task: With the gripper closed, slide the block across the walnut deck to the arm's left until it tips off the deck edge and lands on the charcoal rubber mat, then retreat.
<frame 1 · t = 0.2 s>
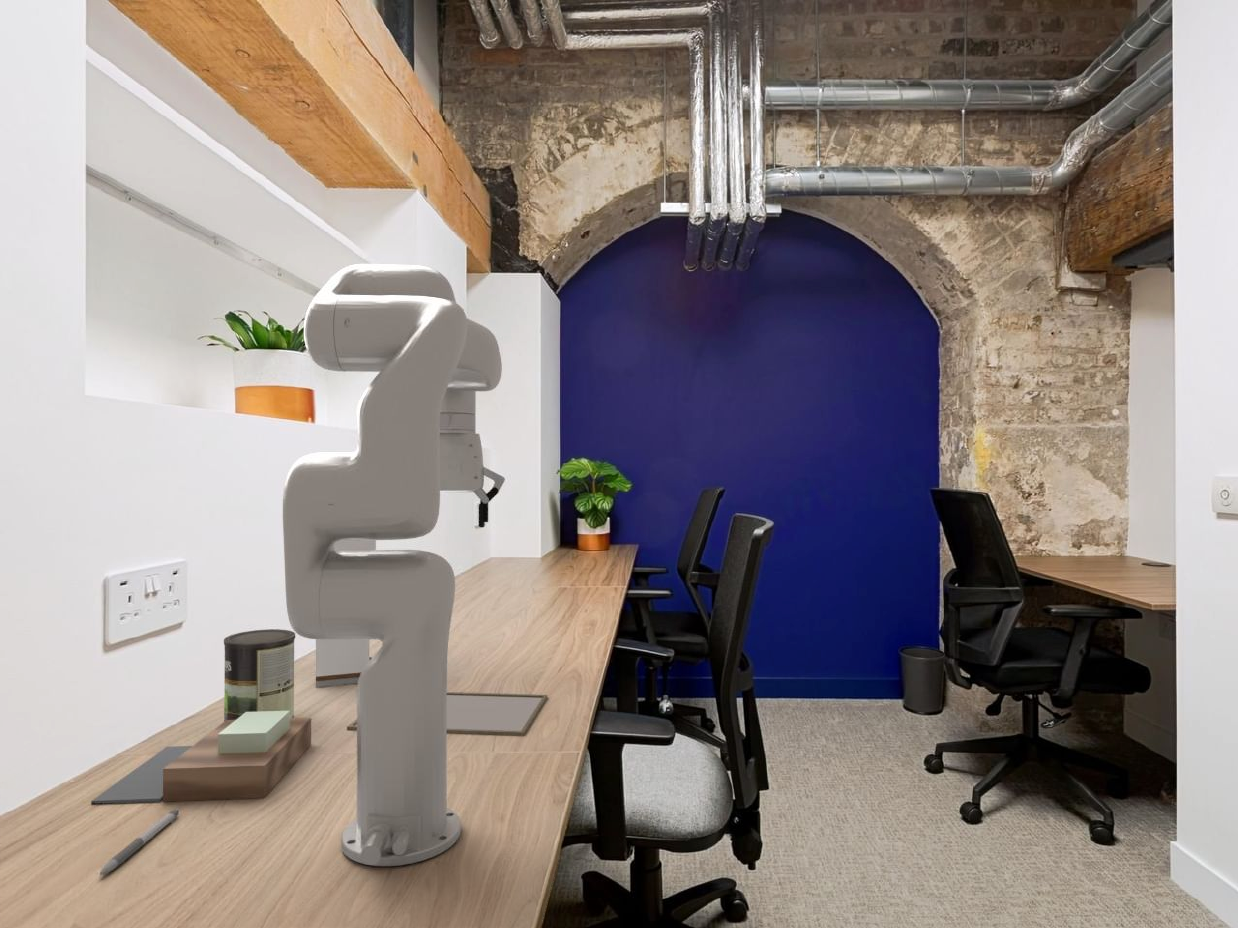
hand: (452, 526, 128), 31 cm above the table, tool pointing down, fingers open, 9 cm apart
picture frame: (453, 716, 126), on the table
mat: (163, 773, 101), on the table
deck: (243, 770, 102), on the table
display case: (345, 677, 148), on the table
coffee can: (259, 725, 120), on the table
block: (255, 740, 102), point 4 cm above the table, touching deck
pen: (142, 849, 82), on the table
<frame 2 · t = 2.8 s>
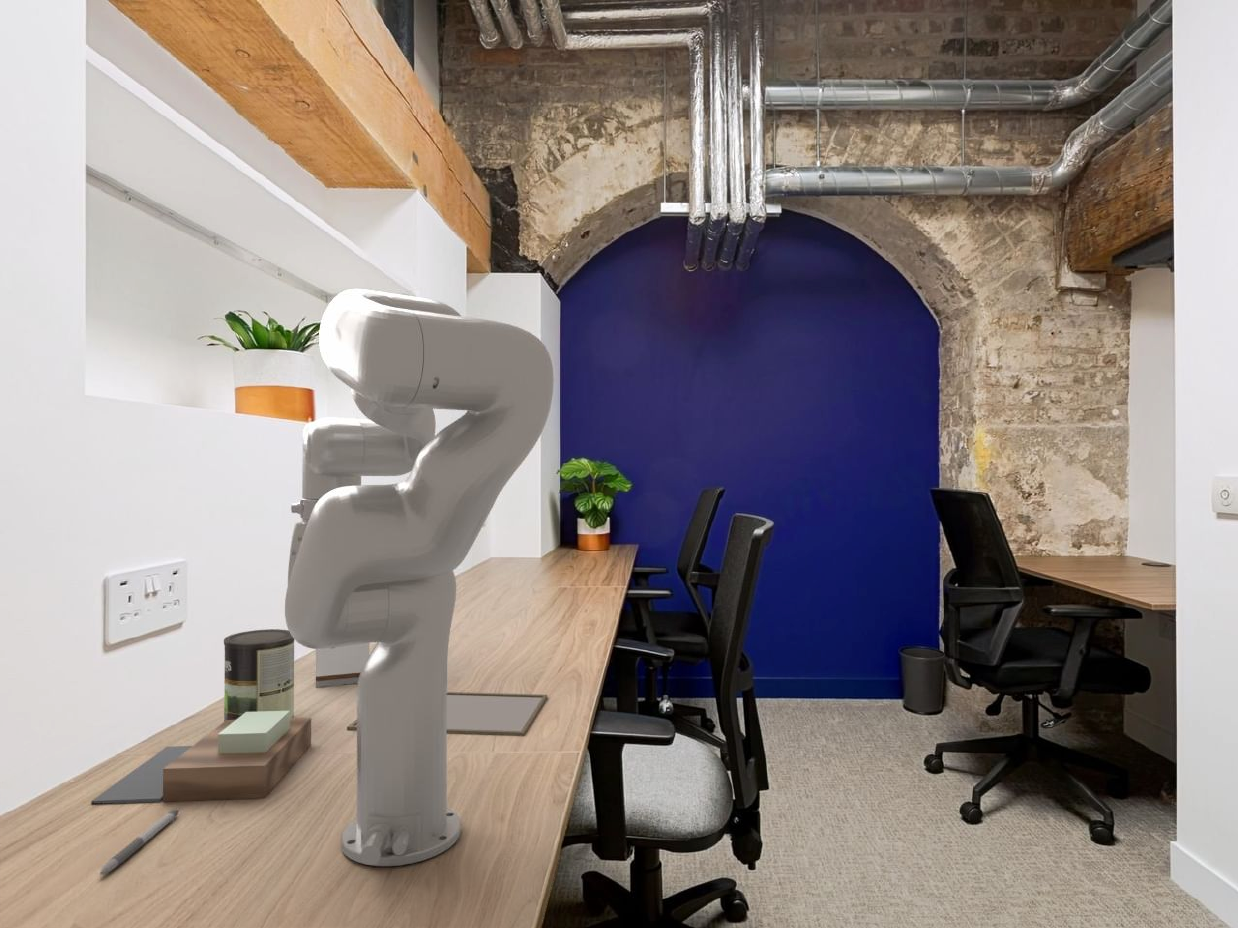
hand: (330, 645, 103), 16 cm above the table, tool pointing down, fingers closed
nothing on the table moved.
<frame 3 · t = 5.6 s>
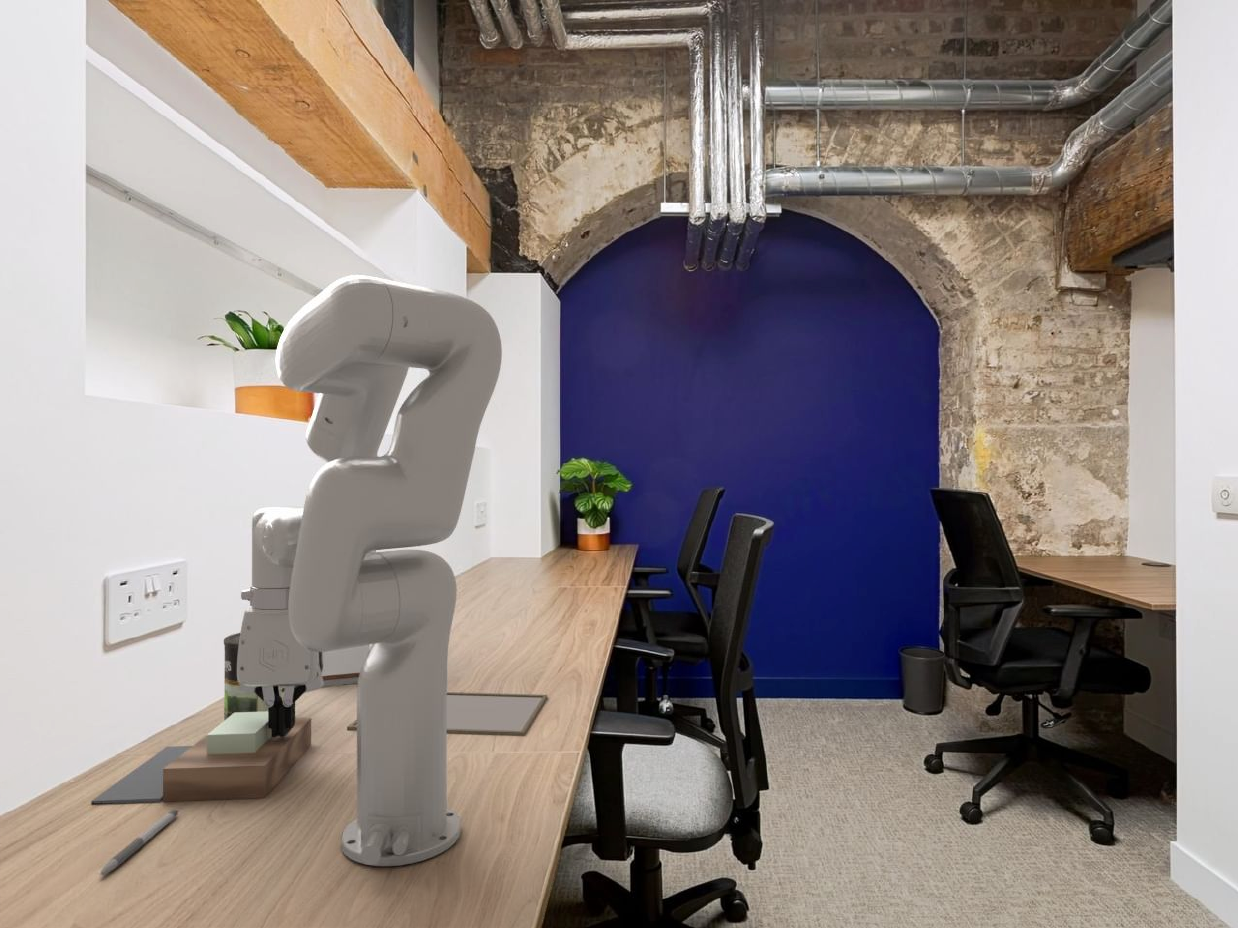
hand: (281, 733, 102), 5 cm above the table, tool pointing down, fingers closed
block: (244, 740, 102), point 4 cm above the table, touching deck, gripper
everything else where it was.
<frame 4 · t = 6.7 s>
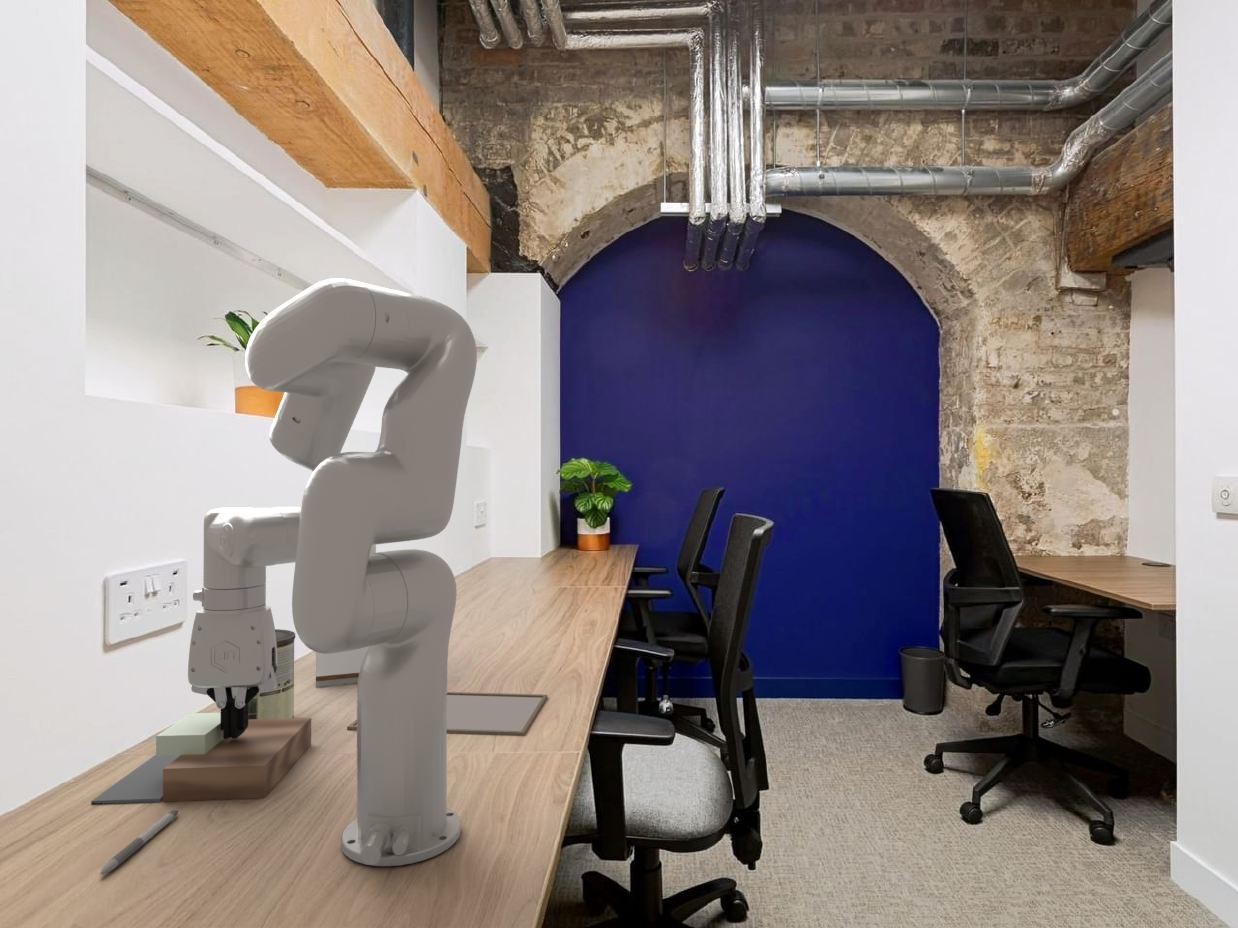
hand: (234, 734, 102), 5 cm above the table, tool pointing down, fingers closed
block: (197, 742, 101), point 4 cm above the table, touching gripper
everything else where it was.
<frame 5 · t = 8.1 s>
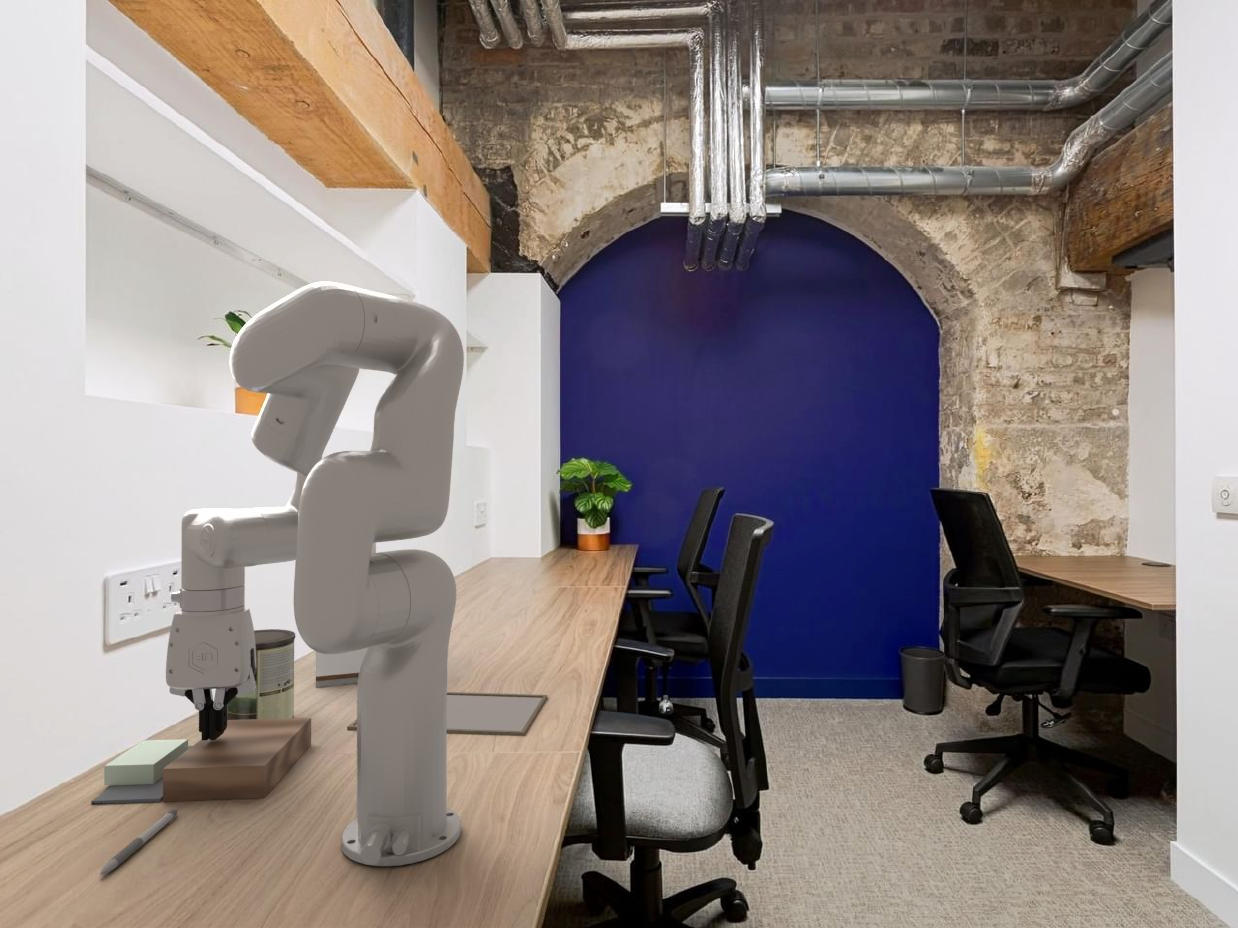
hand: (213, 736, 102), 5 cm above the table, tool pointing down, fingers closed
block: (148, 751, 101), point 3 cm above the table, tilted 180°, touching mat
everything else where it was.
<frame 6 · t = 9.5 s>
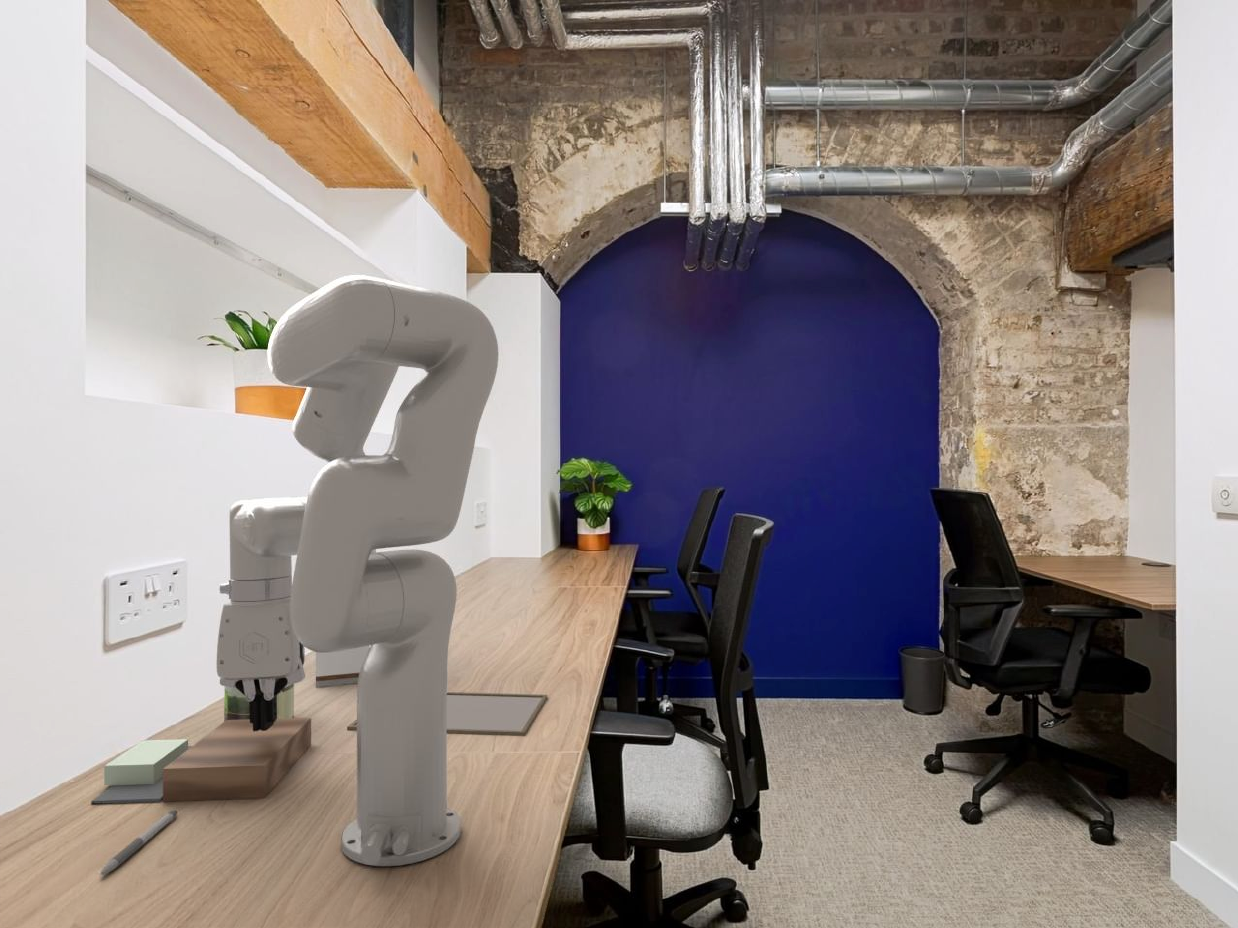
hand: (263, 727, 102), 6 cm above the table, tool pointing down, fingers closed
nothing on the table moved.
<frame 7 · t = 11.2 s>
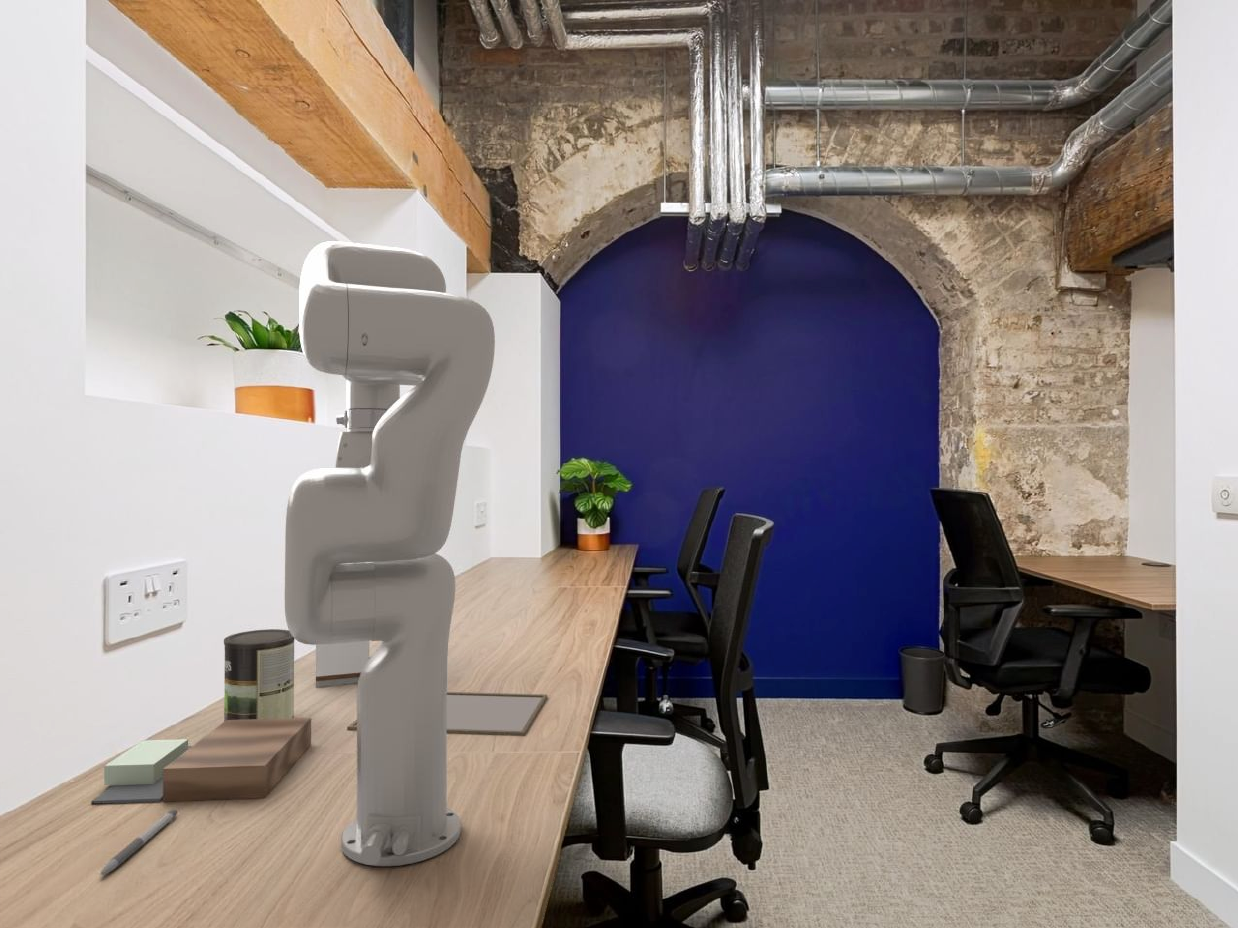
hand: (373, 546, 112), 29 cm above the table, tool pointing down, fingers closed
nothing on the table moved.
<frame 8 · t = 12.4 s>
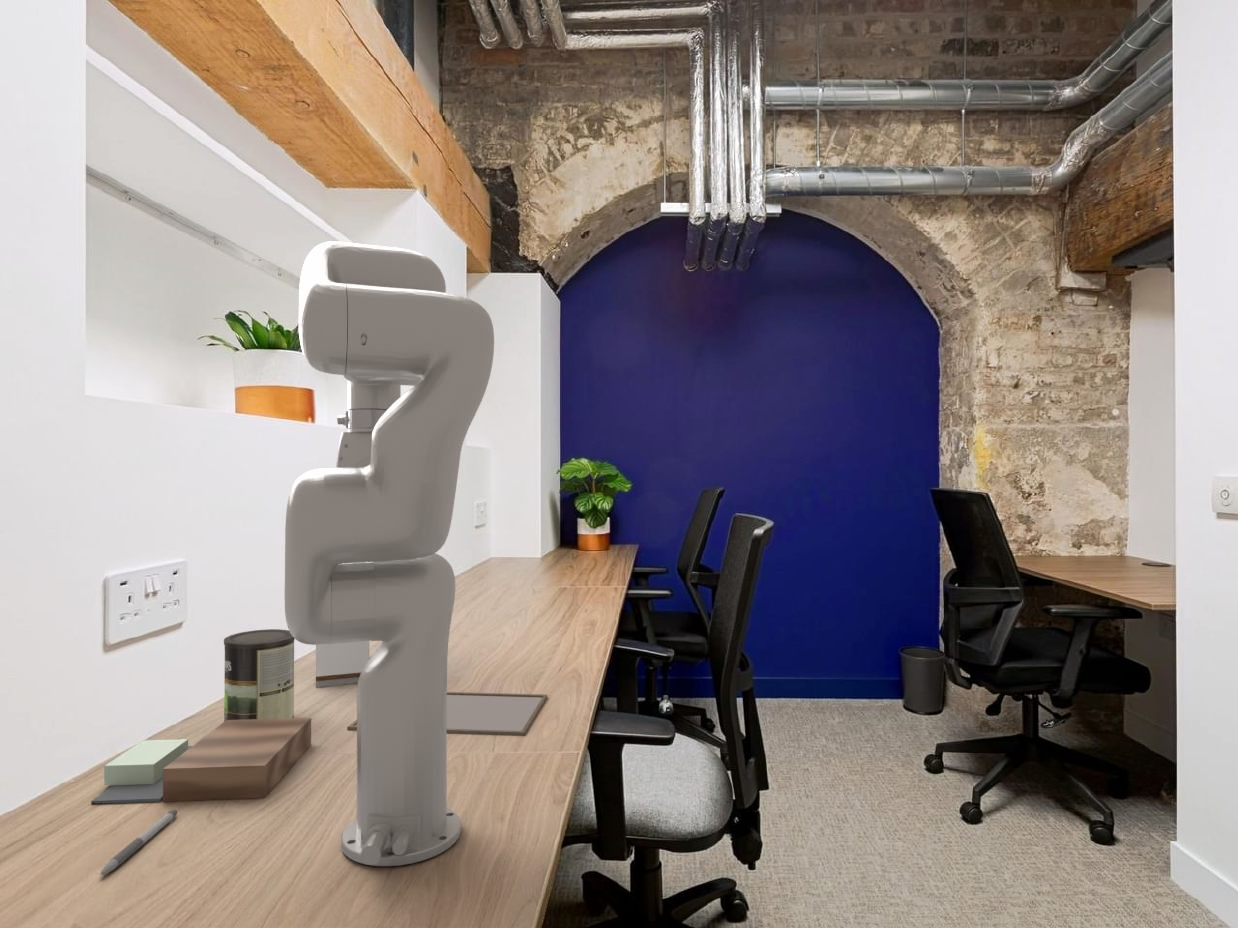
hand: (374, 546, 112), 29 cm above the table, tool pointing down, fingers closed
nothing on the table moved.
at the end: block point 2.9 cm above the table; block inside the target area (1.8 cm from its centre), point 2.9 cm above the table; block touching mat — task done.
